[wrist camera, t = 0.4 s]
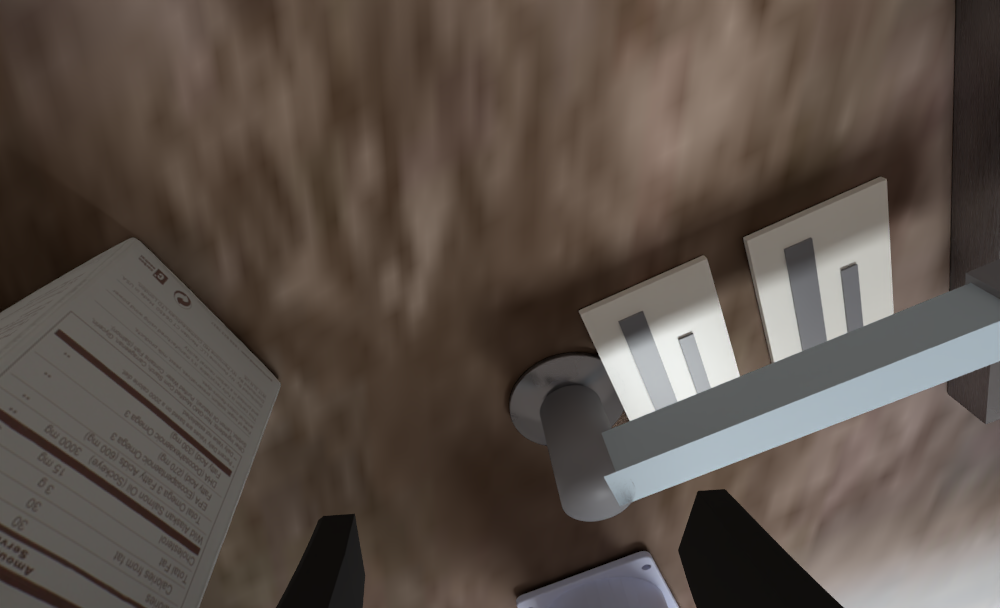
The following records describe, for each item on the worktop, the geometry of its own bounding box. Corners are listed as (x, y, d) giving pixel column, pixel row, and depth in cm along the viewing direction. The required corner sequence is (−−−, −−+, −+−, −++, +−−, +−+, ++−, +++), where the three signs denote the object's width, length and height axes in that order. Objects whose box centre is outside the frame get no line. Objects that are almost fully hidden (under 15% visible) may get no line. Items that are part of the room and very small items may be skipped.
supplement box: (141, 455, 22) (-149, 923, 11) (-32, 325, 18) (-736, 845, 7) (290, 382, 20) (132, 823, 10) (141, 227, 17) (-385, 669, 6)
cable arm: (553, 440, 23) (577, 535, 19) (530, 401, 21) (551, 494, 18) (942, 280, 20) (1062, 351, 17) (943, 225, 19) (1073, 288, 15)
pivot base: (639, 415, 23) (641, 419, 23) (536, 456, 24) (537, 461, 24) (603, 333, 21) (605, 337, 21) (489, 382, 21) (490, 387, 21)
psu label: (890, 339, 23) (897, 344, 22) (776, 384, 23) (781, 390, 23) (880, 176, 18) (888, 179, 18) (743, 237, 19) (748, 242, 19)
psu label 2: (743, 397, 23) (748, 403, 23) (638, 440, 24) (641, 446, 24) (703, 254, 19) (708, 260, 19) (578, 310, 20) (580, 316, 20)
